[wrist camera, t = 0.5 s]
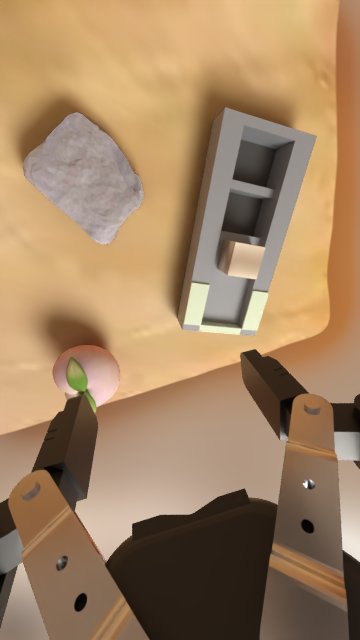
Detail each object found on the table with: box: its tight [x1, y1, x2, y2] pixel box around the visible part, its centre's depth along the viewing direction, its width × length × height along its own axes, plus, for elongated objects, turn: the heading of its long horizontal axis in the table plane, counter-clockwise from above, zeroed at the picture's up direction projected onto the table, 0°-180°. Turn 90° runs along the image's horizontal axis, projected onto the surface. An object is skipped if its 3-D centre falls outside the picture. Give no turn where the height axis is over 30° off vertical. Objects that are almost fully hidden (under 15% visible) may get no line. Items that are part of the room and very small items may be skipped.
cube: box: [218, 239, 265, 279], centre depth 32 cm, size 4×4×4 cm
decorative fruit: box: [53, 345, 120, 413], centre depth 35 cm, size 9×8×10 cm
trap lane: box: [177, 107, 317, 336], centre depth 34 cm, size 26×12×5 cm, turn 170°
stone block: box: [23, 112, 144, 245], centre depth 29 cm, size 12×5×10 cm
